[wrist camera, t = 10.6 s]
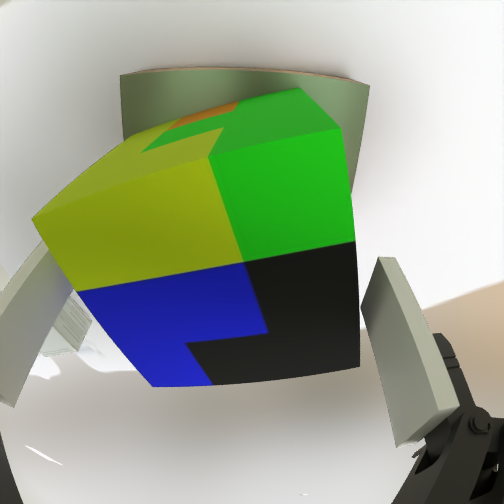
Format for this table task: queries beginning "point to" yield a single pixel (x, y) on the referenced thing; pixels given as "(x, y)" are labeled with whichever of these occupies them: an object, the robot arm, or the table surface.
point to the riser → (238, 97)
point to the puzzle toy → (218, 245)
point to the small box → (66, 331)
